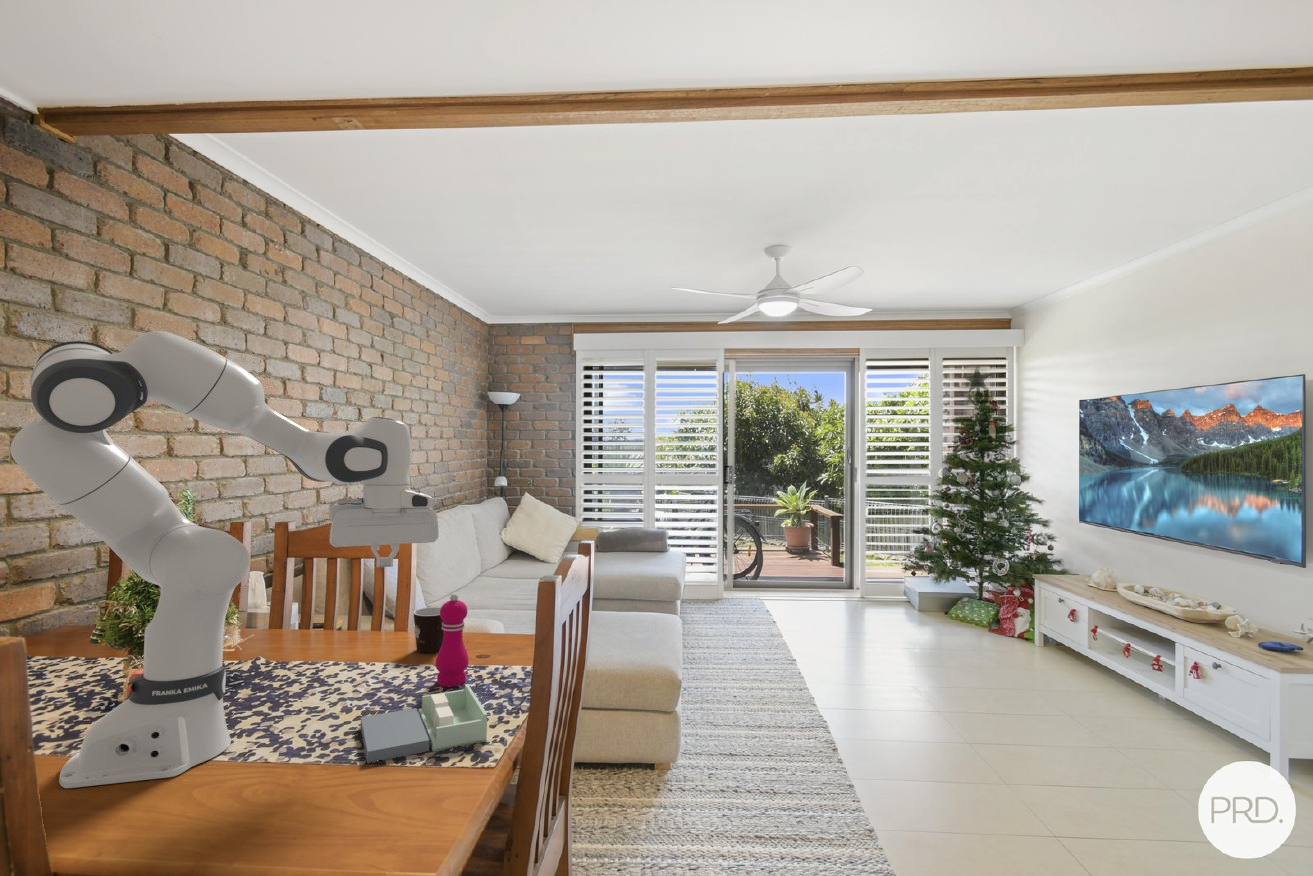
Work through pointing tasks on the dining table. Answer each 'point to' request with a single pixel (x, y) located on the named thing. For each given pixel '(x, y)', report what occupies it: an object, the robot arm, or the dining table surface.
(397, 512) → the robot arm
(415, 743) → the slate plate
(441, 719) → the tile front
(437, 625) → the coffee mug
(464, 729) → the bin
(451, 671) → the pepper mill
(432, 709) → the tile back
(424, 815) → the dining table surface
